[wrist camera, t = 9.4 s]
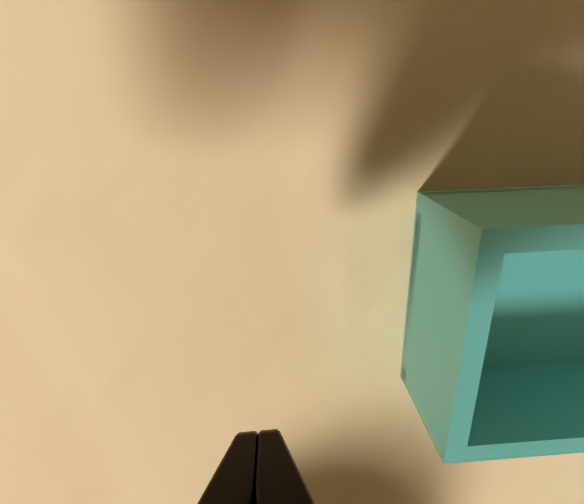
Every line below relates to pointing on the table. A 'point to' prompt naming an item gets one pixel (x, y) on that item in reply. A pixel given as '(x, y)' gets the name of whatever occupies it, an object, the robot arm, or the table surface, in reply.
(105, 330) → the table surface
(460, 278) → the tray
